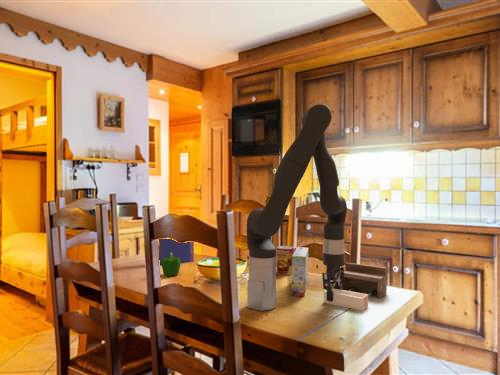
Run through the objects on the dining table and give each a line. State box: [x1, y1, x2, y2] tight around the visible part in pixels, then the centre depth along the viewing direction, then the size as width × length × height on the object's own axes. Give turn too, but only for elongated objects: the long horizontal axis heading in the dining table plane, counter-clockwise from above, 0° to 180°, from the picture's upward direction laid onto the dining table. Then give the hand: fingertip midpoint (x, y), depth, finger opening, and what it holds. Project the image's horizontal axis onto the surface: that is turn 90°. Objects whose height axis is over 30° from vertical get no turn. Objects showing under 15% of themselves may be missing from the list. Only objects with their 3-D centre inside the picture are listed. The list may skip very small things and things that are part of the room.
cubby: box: [340, 262, 388, 299], centre depth 147 cm, size 7×16×10 cm, turn 54°
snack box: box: [290, 246, 310, 297], centre depth 153 cm, size 21×6×15 cm, turn 168°
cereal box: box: [158, 217, 195, 266], centre depth 200 cm, size 17×5×24 cm, turn 120°
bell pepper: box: [161, 253, 181, 277], centre depth 173 cm, size 8×8×10 cm
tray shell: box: [323, 289, 369, 311], centre depth 133 cm, size 14×6×4 cm, turn 54°
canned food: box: [276, 245, 295, 276], centre depth 178 cm, size 8×8×12 cm
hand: (333, 298), depth 136 cm, fingers closed on tray shell, 5 cm apart
